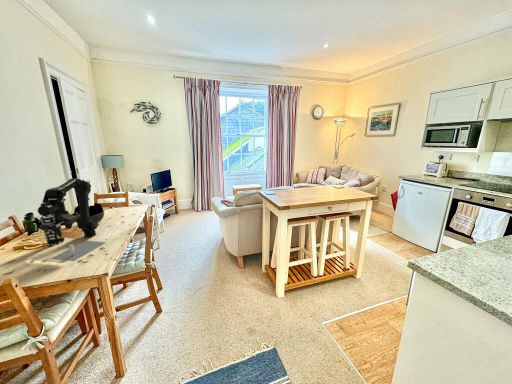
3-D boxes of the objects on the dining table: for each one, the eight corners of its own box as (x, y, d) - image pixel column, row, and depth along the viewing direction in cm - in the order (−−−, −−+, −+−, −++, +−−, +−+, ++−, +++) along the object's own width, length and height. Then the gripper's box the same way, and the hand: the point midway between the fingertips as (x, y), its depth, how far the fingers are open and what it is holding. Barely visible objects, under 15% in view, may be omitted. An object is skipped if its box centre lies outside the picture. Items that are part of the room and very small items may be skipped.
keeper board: (50, 261, 120) (46, 246, 118) (86, 242, 141) (83, 230, 139) (74, 263, 118) (71, 249, 115) (107, 244, 139) (104, 231, 136)
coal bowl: (69, 227, 164) (63, 205, 159) (96, 218, 182) (92, 198, 177) (85, 232, 157) (80, 208, 152) (111, 222, 175) (107, 200, 170)
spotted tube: (68, 242, 141) (61, 214, 136) (53, 248, 134) (45, 219, 129) (60, 240, 144) (53, 213, 139) (45, 246, 136) (37, 217, 131)
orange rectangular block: (57, 237, 122) (55, 231, 121) (65, 234, 127) (64, 227, 126) (75, 238, 121) (73, 232, 120) (83, 235, 125) (81, 228, 124)
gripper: (53, 216, 110) (60, 243, 114) (86, 205, 128) (91, 229, 132) (35, 215, 112) (42, 242, 115) (70, 205, 130) (75, 228, 133)
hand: (64, 235), depth 124 cm, fingers closed on orange rectangular block, 5 cm apart
